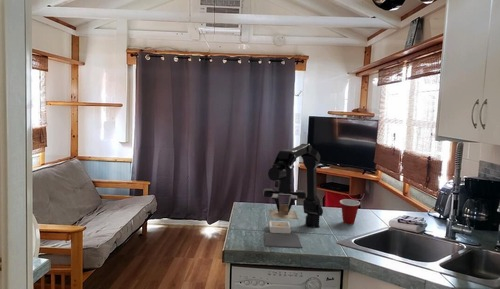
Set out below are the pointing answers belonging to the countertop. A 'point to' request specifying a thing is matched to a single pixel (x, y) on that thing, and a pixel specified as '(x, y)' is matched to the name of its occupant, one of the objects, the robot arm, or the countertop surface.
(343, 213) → the plastic cup
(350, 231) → the countertop surface
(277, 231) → the dish
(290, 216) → the lid
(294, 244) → the mat
